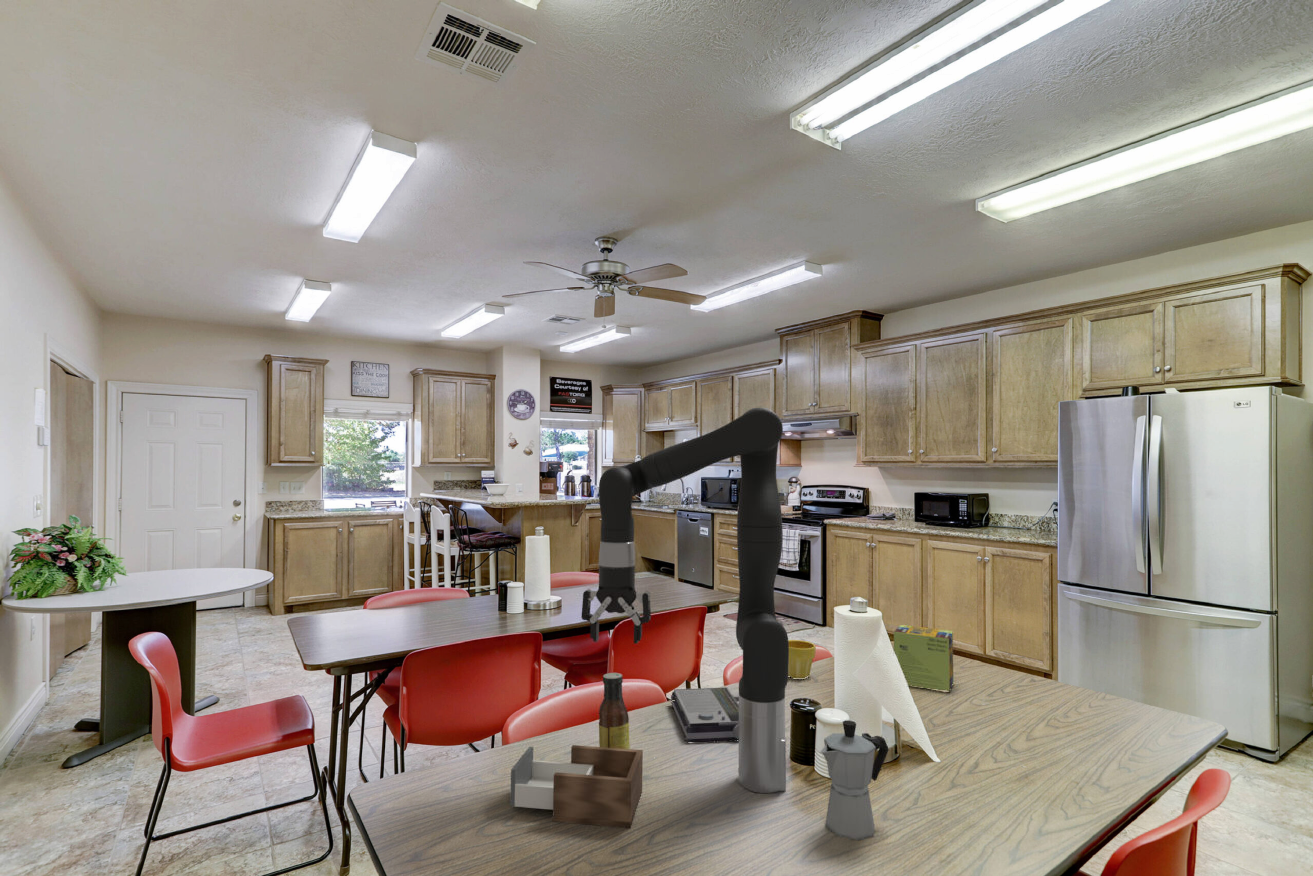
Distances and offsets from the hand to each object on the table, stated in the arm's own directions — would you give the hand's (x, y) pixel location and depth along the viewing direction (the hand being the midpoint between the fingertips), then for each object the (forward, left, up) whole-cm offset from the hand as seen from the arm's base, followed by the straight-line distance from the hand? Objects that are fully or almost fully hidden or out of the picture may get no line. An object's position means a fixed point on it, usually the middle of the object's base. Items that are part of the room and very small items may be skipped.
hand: (615, 641), depth 133 cm
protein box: (-79, -70, -27) cm, 109 cm away
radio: (-20, -31, -27) cm, 46 cm away
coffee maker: (-46, +12, -27) cm, 55 cm away
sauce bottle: (0, 0, -27) cm, 27 cm away
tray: (+9, +13, -25) cm, 30 cm away
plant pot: (-43, -71, -27) cm, 87 cm away
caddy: (0, +13, -27) cm, 30 cm away
